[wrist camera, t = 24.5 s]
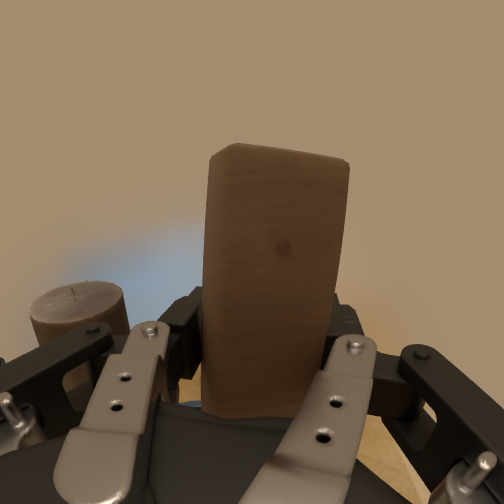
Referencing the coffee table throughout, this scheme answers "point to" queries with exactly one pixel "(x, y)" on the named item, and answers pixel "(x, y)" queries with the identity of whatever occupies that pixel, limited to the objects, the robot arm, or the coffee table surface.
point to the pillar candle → (78, 316)
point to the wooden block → (268, 276)
